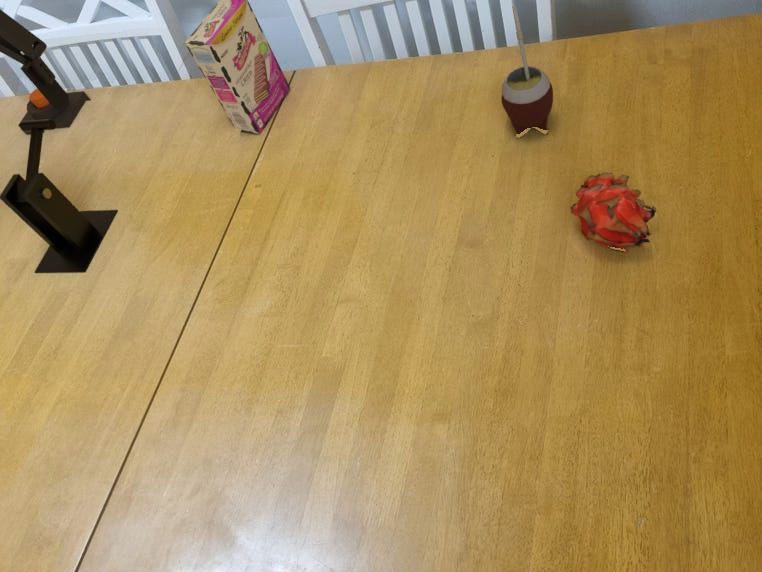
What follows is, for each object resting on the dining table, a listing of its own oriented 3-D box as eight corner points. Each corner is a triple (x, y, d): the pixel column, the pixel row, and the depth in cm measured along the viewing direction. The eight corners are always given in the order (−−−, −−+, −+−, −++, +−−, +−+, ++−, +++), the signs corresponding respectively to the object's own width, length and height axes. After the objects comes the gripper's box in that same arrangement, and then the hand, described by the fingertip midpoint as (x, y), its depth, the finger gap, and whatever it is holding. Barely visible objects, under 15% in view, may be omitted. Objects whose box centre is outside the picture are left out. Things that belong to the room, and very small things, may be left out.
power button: (32, 109, 128) (25, 101, 126) (41, 95, 130) (34, 87, 128) (49, 108, 127) (42, 99, 126) (58, 94, 129) (51, 85, 127)
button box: (26, 135, 131) (10, 117, 127) (46, 104, 135) (31, 86, 131) (73, 131, 128) (57, 113, 125) (92, 101, 132) (77, 82, 129)
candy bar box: (261, 135, 116) (209, 45, 103) (236, 132, 118) (181, 43, 105) (293, 88, 121) (247, -4, 108) (268, 86, 123) (220, -5, 109)
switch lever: (31, 125, 105) (16, 117, 103) (59, 123, 104) (46, 115, 102) (21, 207, 104) (6, 201, 102) (50, 206, 103) (36, 200, 100)
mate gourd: (532, 149, 102) (514, 56, 90) (494, 127, 106) (472, 35, 94) (569, 119, 104) (557, 23, 91) (531, 98, 108) (514, 4, 95)
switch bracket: (73, 216, 115) (14, 155, 105) (122, 214, 113) (66, 152, 103) (39, 277, 109) (-27, 218, 99) (89, 276, 107) (27, 217, 97)
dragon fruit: (587, 209, 96) (646, 270, 91) (542, 214, 91) (603, 279, 86) (619, 154, 91) (685, 216, 86) (575, 156, 85) (641, 222, 80)
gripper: (-215, -13, 84) (-63, 131, 102) (-46, -40, 78) (85, 119, 96) (-176, -50, 88) (-36, 95, 106) (-12, -79, 82) (108, 81, 99)
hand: (22, 106), depth 101 cm, fingers open, 13 cm apart
